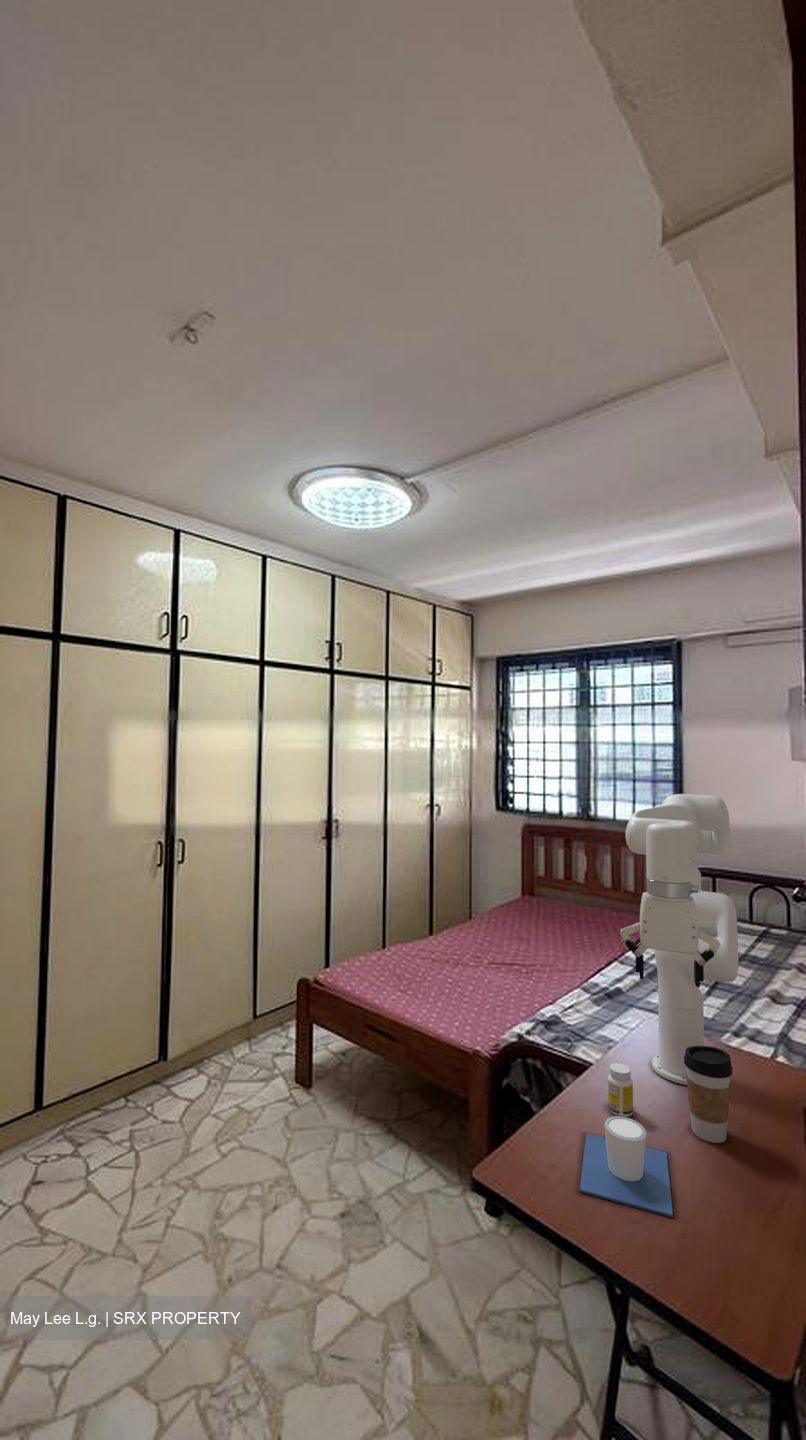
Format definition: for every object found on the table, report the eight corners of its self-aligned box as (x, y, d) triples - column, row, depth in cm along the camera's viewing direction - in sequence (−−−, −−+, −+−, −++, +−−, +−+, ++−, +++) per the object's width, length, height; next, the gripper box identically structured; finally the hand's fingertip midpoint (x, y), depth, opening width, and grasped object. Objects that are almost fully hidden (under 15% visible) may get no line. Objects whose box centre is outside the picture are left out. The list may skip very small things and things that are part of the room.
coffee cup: (740, 1150, 107) (739, 1066, 108) (691, 1143, 109) (690, 1060, 110) (725, 1123, 116) (723, 1045, 117) (679, 1117, 117) (678, 1040, 118)
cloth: (586, 1134, 111) (586, 1132, 111) (666, 1154, 106) (666, 1152, 106) (579, 1191, 96) (579, 1189, 96) (673, 1217, 91) (672, 1215, 91)
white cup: (598, 1156, 104) (597, 1116, 105) (635, 1155, 105) (634, 1115, 105) (615, 1184, 97) (614, 1140, 98) (654, 1183, 98) (654, 1139, 98)
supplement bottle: (632, 1106, 120) (632, 1064, 121) (633, 1119, 116) (633, 1076, 117) (608, 1102, 122) (607, 1060, 123) (608, 1114, 118) (608, 1071, 118)
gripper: (716, 889, 112) (717, 980, 111) (620, 881, 118) (620, 967, 117) (721, 898, 105) (723, 995, 104) (619, 888, 111) (619, 980, 110)
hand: (668, 980), depth 110 cm, fingers open, 9 cm apart
